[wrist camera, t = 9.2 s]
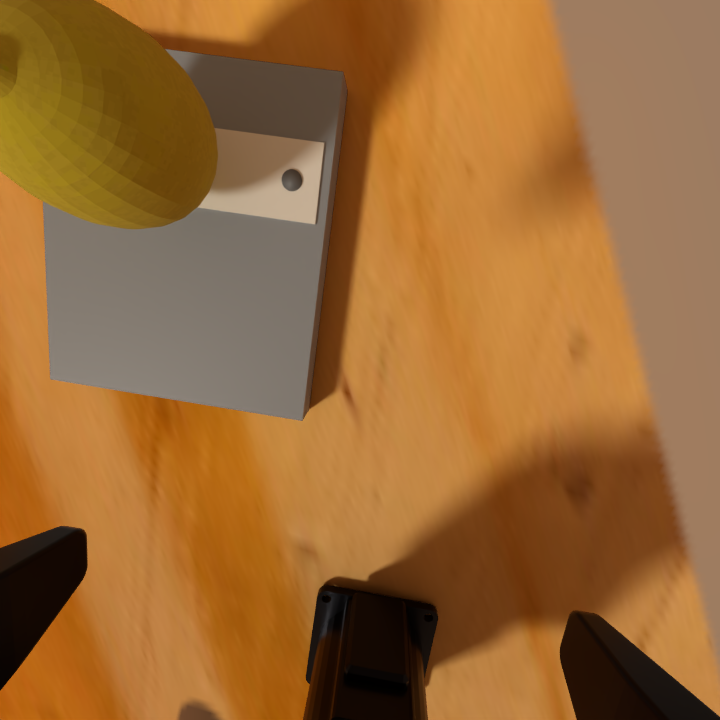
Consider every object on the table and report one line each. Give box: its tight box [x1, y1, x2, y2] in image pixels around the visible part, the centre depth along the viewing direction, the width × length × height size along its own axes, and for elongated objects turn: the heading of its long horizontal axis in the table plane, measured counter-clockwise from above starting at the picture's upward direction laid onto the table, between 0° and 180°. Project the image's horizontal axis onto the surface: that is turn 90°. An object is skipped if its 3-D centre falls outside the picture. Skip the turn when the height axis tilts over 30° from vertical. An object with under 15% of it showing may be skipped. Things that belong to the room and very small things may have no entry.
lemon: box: [0, 0, 218, 229], centre depth 11 cm, size 6×6×8 cm
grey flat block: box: [43, 49, 347, 421], centre depth 17 cm, size 14×12×2 cm
